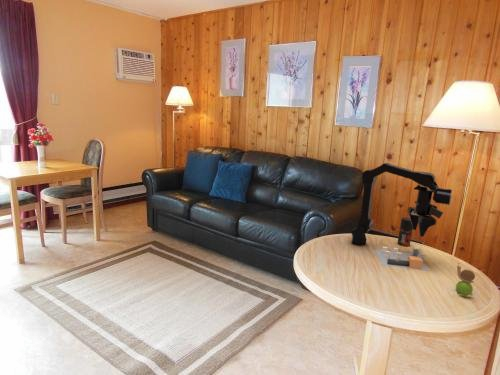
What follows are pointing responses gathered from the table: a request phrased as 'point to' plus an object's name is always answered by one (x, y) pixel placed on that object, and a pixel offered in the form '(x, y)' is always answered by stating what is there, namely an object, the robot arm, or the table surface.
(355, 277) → the table surface
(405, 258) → the board
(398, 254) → the clips
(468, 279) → the snail figurine
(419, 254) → the bracket
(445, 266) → the table surface
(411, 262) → the plug
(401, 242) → the deodorant
